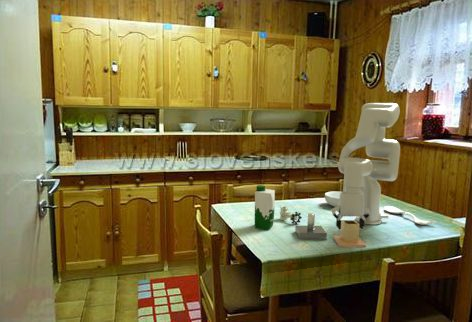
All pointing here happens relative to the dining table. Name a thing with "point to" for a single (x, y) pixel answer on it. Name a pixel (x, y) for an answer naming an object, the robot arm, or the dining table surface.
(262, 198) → the milk carton
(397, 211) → the spoon
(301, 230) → the grey base with post
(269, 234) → the dining table surface
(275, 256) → the dining table surface
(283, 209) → the valve
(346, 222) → the sleeve
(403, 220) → the dining table surface
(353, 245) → the tile
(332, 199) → the cereal bowl
